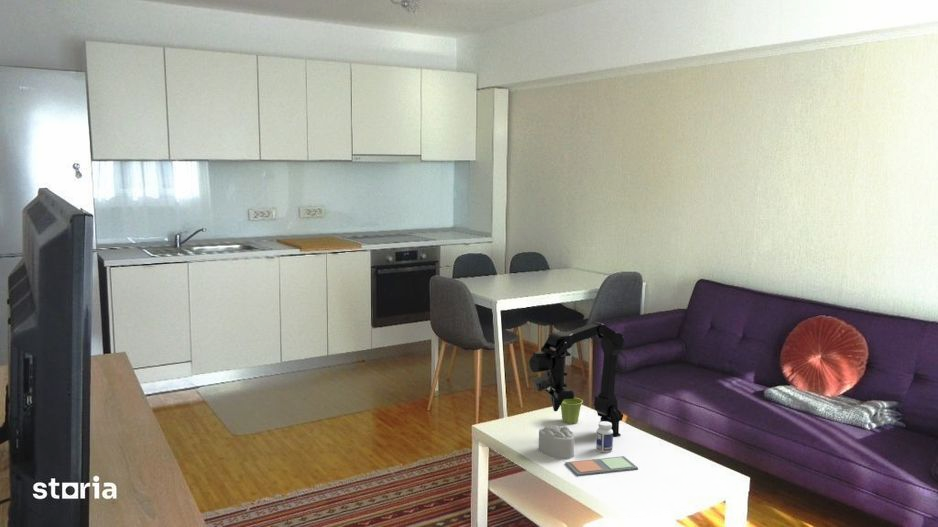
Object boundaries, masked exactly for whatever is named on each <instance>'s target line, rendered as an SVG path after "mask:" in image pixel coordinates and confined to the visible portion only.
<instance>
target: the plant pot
mask: <svg viewBox="0 0 938 527" xmlns="http://www.w3.org/2000/svg"><path fill="white" fill-rule="evenodd" d="M583 402H584V400H583V399H581V398H578V397H575V396H574V399H564V400H563V402H562V403H561V405H560V411H561V420H562V422H563V423H565V424H568V425H574V424H577V423H578V422H579V417H580V412H581V407H582V404H583Z"/></svg>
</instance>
